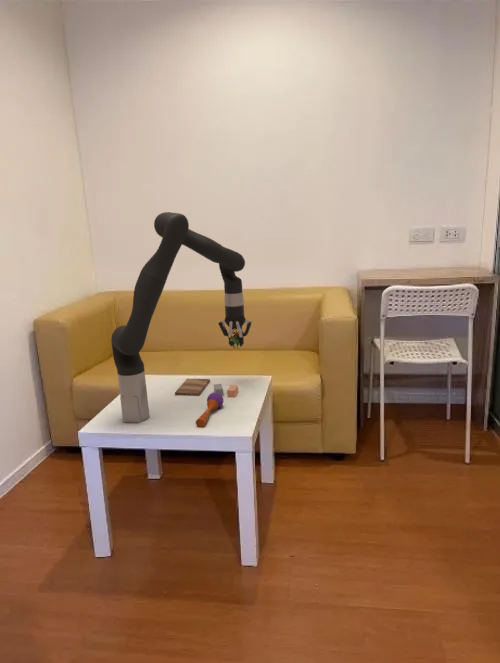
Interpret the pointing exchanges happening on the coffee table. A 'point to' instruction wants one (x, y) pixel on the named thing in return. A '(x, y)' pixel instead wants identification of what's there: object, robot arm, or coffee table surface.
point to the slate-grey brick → (218, 388)
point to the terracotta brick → (232, 391)
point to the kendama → (210, 407)
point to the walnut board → (192, 387)
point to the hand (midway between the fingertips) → (236, 345)
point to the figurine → (235, 339)
